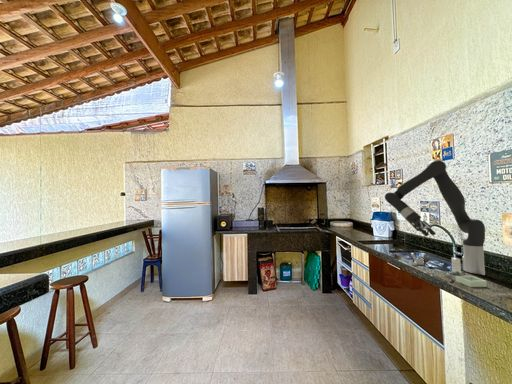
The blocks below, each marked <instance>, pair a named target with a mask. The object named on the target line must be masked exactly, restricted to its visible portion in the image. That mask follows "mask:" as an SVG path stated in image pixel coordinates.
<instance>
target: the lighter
mask: <svg viewBox="0 0 512 384" xmlns="http://www.w3.org/2000/svg"><path fill="white" fill-rule="evenodd" d="M410 255H411V257H412V259H413V260H415V265H419V266H424V258H423V257H421V256H417V257H416V255H415V253H414V252H410Z"/></svg>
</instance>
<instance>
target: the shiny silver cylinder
mask: <svg viewBox="0 0 512 384" xmlns="http://www.w3.org/2000/svg"><path fill="white" fill-rule="evenodd" d="M450 260H451V273H452V275H453V276H462V275H463V274H462V268H461V267H462V265H461V263H462V262H461V258H458V257H451V259H450Z"/></svg>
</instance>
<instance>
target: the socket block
mask: <svg viewBox="0 0 512 384" xmlns="http://www.w3.org/2000/svg"><path fill="white" fill-rule="evenodd" d="M462 276H466V275H465V274H462ZM444 277H445V278H448V279H449V280H453V281H454V282H456V279H455V276H453V275H452V272H444Z"/></svg>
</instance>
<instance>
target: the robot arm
mask: <svg viewBox="0 0 512 384" xmlns="http://www.w3.org/2000/svg"><path fill="white" fill-rule="evenodd" d="M431 179H433V180H434V181H435V183H436V185H437V187H438V189H439V192H440V194H441V196H442V198H443V200H444V201H445V202H446V204H447V206H448V208H449V210H450V212H451V213H452V215H453V216H454V219H455V222H456V224H457V226H458V228H459V229H460V231H461V232H463V233H465V234H467V238H466V239H465V238H464V239H463V240H462V247H463V248H462V249H463V251H462V252H463V256H462V259H461V260H462V270H463V271H464V272H467V273H469V274H475V275H476V274H477V275H482V276H485V275H486V270H485V269H486V268H485V252H484V251H485V250H484V248H485V247H484V244H485V241H486V240H485V239H486V226H485V224H484V221H482V220H481V219H480V220H479V219H475V218H474V219H473V218H470V216H469V214H468V213H467V212H466V199H465V197H464V195H463V193H462V191H461V190H460V188H459V187H458V186H457V184H456V183H455V182H454V181H453V180H452V178H451V177H450V176H449V174H448V171H447V165H446V163H445V162H444V161H442V160H440V159H432V160H430V161H429V162H428V163H427V164H426V167H425V169H423V170H422V171H421V172H419V173H418V174H416V175H415V176H413V177H411V178H409V179H407V180H406V181H405V182H403V183H402V184H400V185H399V186H398V187H397V188H396V190H395V191H394V192H392V191H390V192H386V193H385V194H384V199H385V202H387V203H388V204H389V205H391V206H392V208H394V209H395V210H396V211H397V212H398V213H399V214H400V215H401V216H402V217H403V218H404V220H406V221H407V222H408V223H409V224H410V225H411V226H412V228H414V229H415V230H416V231H417V232H419V233H421V234H422V235H424V237H429V236H430V235H432V236H435V235H436V234H437V233H436V232H435V231H434V230H433V229H432V226H431V225H430V224H429V223H428V222H427V221H425V220H421V218H422V217H421V215H420V214H419V213H418V212H416V211H415V210H414V208H412V207H410V206H409V205H408V204H407V202H405V201H403V198H405V196H406V195H408V194H410V193H412V192H413V191H414V190H416V189H417V188H418V187H420V186H422V185H423V184H424V183H426V182H428V181H429V180H431ZM429 234H430V235H429Z"/></svg>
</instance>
